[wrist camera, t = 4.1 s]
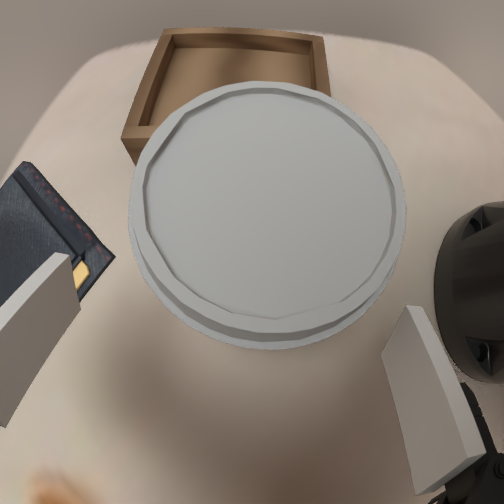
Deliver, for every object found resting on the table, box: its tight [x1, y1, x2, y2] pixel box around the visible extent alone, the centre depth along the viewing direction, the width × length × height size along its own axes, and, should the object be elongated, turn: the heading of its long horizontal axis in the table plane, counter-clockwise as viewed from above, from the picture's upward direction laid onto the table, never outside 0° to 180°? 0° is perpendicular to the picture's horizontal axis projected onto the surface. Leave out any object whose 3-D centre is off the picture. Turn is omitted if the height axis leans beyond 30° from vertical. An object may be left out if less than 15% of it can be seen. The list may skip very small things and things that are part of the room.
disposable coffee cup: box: [128, 81, 407, 350], centre depth 15 cm, size 10×10×12 cm
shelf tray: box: [121, 27, 331, 166], centre depth 22 cm, size 14×13×4 cm
